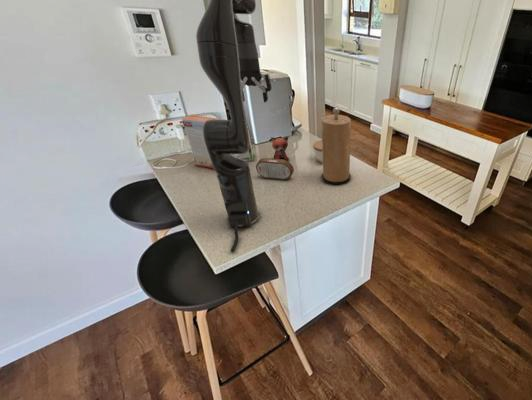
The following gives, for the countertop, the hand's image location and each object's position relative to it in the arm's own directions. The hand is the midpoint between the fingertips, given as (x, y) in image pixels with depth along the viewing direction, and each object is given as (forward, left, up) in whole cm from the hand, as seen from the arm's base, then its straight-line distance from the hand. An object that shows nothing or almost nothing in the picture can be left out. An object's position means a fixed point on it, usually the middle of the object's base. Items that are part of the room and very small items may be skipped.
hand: (254, 101), depth 111 cm
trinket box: (+3, -27, -27) cm, 39 cm away
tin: (-14, -7, -27) cm, 32 cm away
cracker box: (-3, +21, -27) cm, 34 cm away
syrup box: (+4, +9, -27) cm, 29 cm away
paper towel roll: (-14, -32, -27) cm, 44 cm away
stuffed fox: (+3, -7, -27) cm, 28 cm away
